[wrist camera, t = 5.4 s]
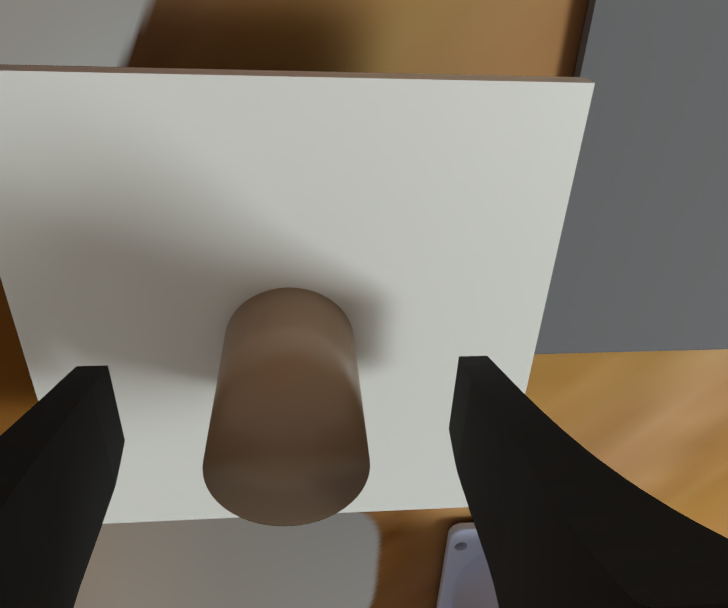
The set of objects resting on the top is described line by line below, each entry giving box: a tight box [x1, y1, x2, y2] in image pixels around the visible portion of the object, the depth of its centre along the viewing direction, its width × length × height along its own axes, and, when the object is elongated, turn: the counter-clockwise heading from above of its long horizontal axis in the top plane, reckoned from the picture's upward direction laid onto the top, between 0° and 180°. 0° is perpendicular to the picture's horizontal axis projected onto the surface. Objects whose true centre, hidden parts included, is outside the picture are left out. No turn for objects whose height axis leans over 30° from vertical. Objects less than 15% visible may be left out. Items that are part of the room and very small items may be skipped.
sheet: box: [0, 65, 595, 526], centre depth 13 cm, size 12×12×4 cm
